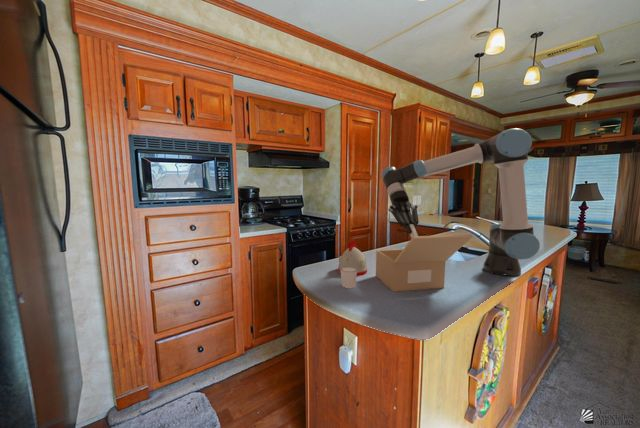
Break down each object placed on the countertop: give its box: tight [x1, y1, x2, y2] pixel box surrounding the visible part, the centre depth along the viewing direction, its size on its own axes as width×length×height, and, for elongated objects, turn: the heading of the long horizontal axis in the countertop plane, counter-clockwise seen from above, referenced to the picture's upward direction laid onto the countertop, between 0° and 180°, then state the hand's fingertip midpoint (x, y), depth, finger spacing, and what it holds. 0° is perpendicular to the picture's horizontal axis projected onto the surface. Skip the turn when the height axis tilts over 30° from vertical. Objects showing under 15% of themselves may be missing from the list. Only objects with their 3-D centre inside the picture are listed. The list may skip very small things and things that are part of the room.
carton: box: [375, 248, 446, 293], centre depth 113 cm, size 18×22×12 cm
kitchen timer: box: [337, 240, 368, 277], centre depth 127 cm, size 14×14×15 cm
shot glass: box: [340, 267, 358, 289], centre depth 109 cm, size 7×7×7 cm
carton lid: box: [394, 233, 474, 263], centre depth 96 cm, size 18×22×1 cm
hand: (415, 239), depth 105 cm, fingers closed
